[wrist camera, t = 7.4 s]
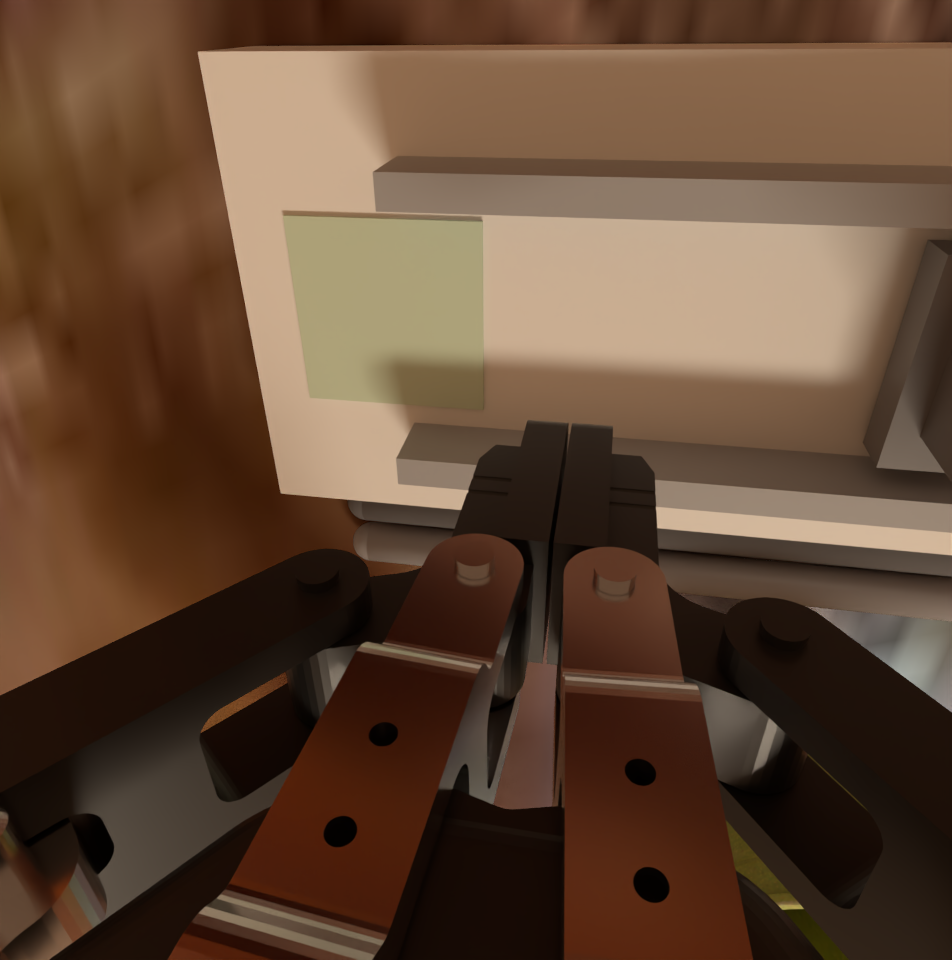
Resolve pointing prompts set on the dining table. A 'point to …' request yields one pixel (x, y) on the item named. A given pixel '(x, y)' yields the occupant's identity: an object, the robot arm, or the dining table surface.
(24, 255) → the dining table surface
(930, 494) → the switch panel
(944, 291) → the handle
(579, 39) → the dining table surface
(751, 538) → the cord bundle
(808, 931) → the plant pot
